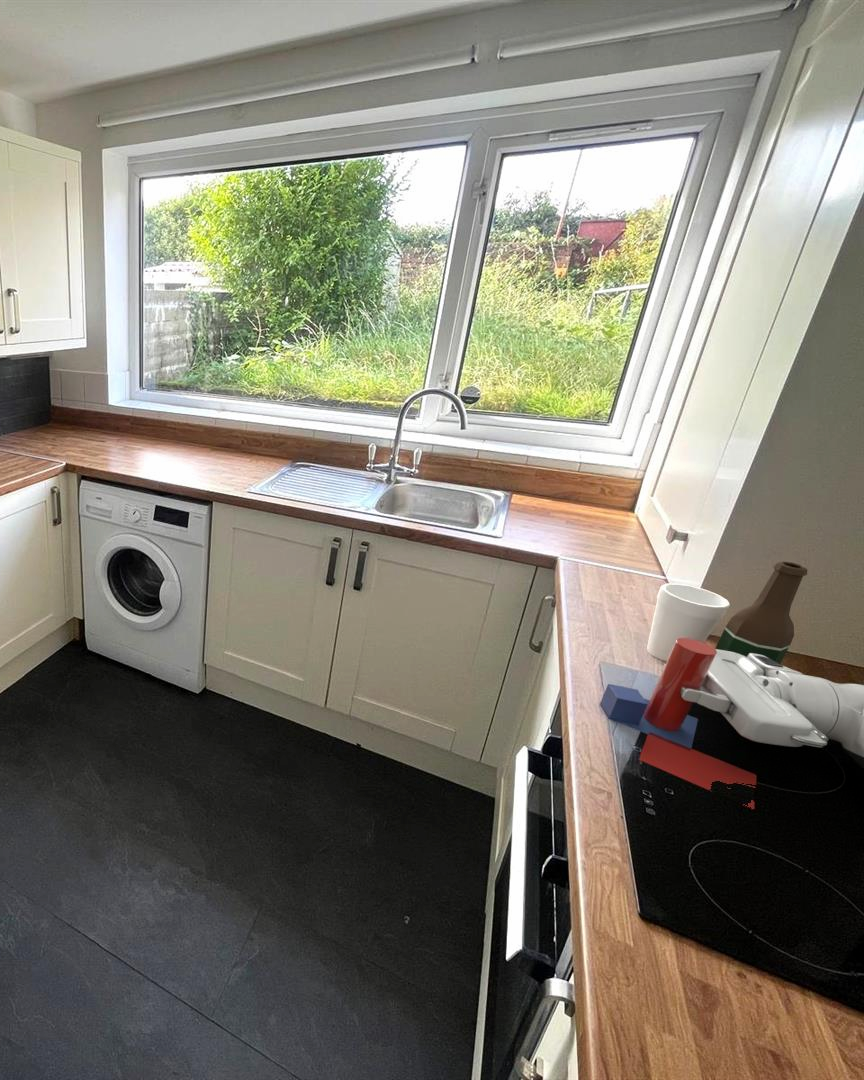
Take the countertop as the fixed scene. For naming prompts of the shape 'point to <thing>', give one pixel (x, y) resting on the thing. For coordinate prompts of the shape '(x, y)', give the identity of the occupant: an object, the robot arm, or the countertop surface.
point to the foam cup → (683, 616)
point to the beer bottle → (766, 617)
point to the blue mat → (680, 737)
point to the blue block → (623, 704)
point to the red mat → (693, 765)
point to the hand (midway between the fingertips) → (672, 680)
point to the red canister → (678, 683)
